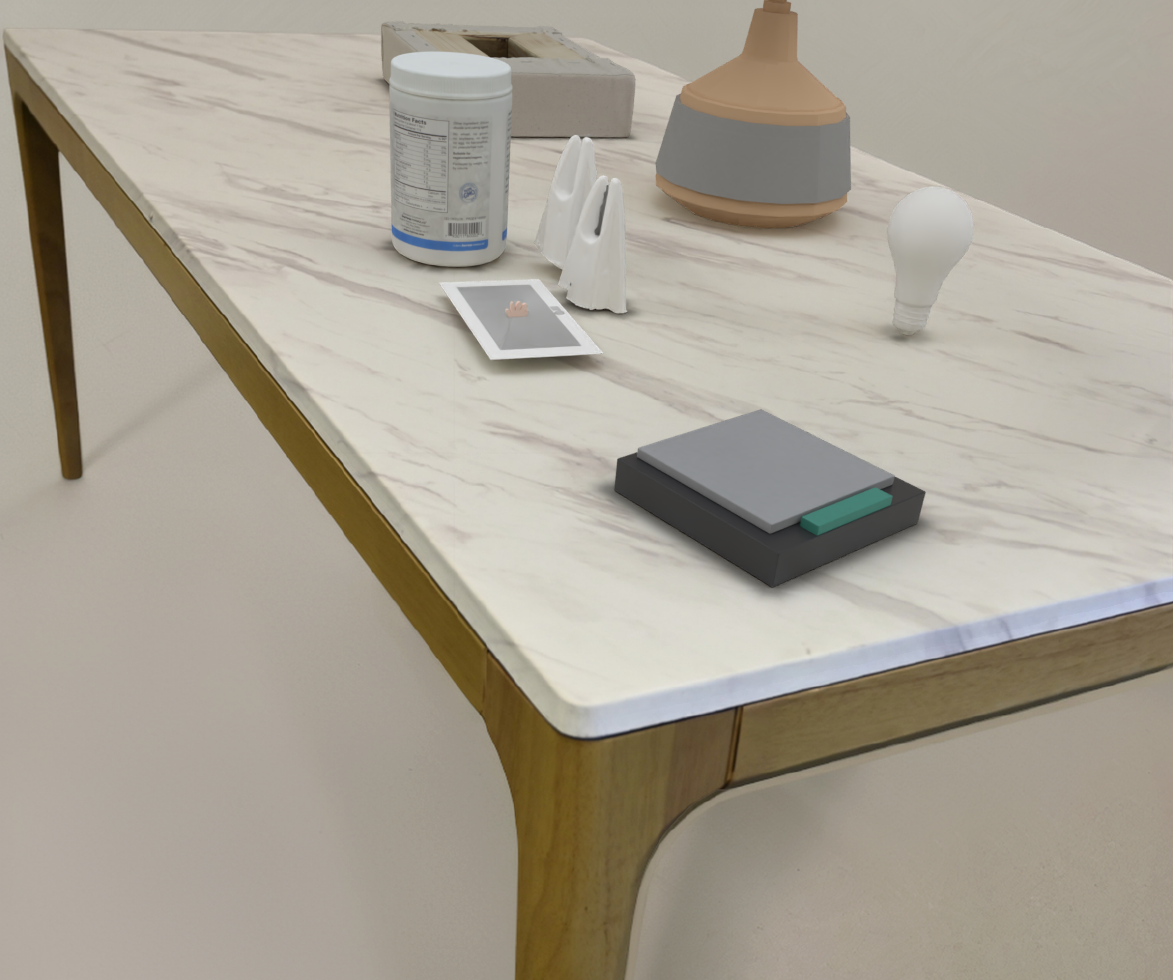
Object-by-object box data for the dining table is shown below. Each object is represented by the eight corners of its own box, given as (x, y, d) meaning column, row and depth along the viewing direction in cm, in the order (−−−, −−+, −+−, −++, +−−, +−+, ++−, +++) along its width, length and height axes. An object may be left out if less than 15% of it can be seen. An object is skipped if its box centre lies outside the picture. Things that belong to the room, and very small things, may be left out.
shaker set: (530, 264, 100) (538, 123, 94) (579, 262, 102) (589, 123, 96) (577, 316, 91) (589, 163, 85) (629, 313, 92) (644, 163, 86)
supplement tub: (432, 227, 107) (433, 45, 99) (527, 249, 104) (537, 63, 96) (367, 254, 99) (363, 59, 91) (467, 279, 96) (472, 80, 88)
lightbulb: (897, 352, 90) (931, 201, 84) (850, 323, 94) (879, 177, 88) (963, 345, 92) (1001, 198, 86) (915, 317, 97) (947, 175, 91)
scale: (918, 523, 68) (929, 481, 66) (772, 587, 61) (780, 542, 59) (759, 441, 75) (766, 402, 74) (613, 490, 68) (617, 448, 67)
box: (377, 80, 159) (437, 138, 134) (377, 15, 155) (439, 62, 130) (546, 85, 167) (633, 141, 142) (550, 23, 163) (640, 69, 138)
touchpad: (490, 375, 80) (491, 343, 79) (438, 296, 92) (438, 268, 91) (602, 368, 83) (604, 338, 82) (538, 292, 95) (539, 265, 93)
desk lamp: (718, 171, 132) (772, -238, 112) (881, 210, 123) (971, -225, 104) (604, 207, 116) (644, -260, 97) (782, 255, 108) (865, -247, 88)
